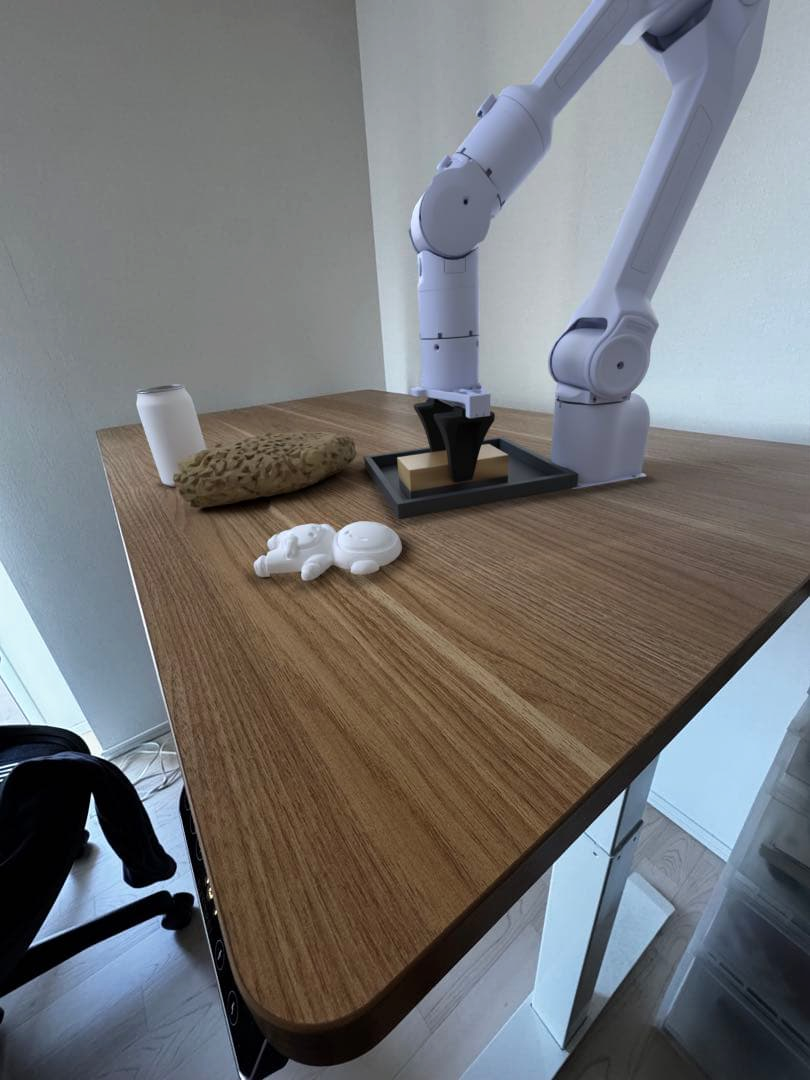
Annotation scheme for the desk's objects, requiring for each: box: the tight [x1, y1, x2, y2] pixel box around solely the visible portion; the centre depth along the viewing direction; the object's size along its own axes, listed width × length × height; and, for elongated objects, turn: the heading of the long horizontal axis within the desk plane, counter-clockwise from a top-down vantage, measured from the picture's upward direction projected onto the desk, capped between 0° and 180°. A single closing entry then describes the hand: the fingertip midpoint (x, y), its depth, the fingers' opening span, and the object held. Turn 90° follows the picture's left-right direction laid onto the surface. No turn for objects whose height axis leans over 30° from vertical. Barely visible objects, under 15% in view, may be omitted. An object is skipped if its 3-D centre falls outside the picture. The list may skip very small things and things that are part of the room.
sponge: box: [173, 431, 357, 509], centre depth 53 cm, size 13×8×20 cm
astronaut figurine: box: [253, 520, 403, 582], centre depth 38 cm, size 9×12×3 cm
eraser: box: [397, 444, 509, 499], centre depth 49 cm, size 11×5×4 cm, turn 105°
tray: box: [363, 435, 578, 520], centre depth 53 cm, size 20×18×2 cm
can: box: [135, 384, 207, 488], centre depth 58 cm, size 6×6×12 cm
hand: (452, 472), depth 49 cm, fingers closed on eraser, 5 cm apart
